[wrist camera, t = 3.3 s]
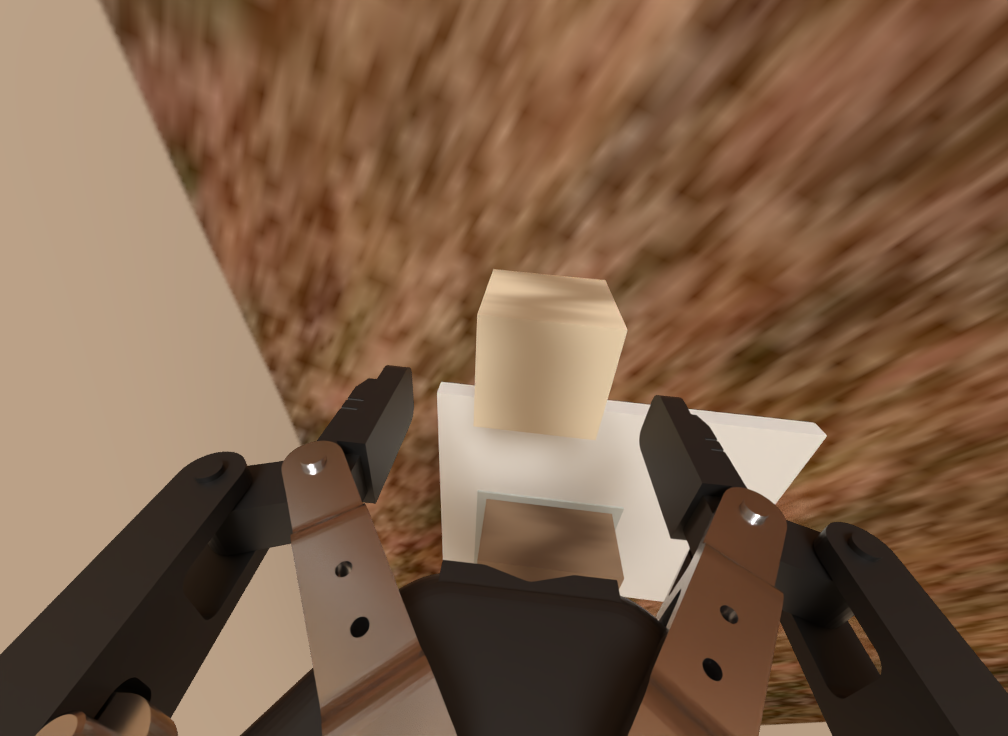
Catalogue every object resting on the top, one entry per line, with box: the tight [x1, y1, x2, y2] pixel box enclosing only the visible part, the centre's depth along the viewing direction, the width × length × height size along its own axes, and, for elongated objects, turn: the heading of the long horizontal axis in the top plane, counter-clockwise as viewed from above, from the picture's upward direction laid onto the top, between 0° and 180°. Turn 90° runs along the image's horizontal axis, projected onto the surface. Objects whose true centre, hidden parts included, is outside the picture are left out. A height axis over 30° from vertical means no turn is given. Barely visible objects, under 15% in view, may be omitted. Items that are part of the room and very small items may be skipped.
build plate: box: [437, 382, 827, 602], centre depth 24 cm, size 20×18×1 cm
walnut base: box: [477, 499, 624, 589], centre depth 23 cm, size 8×8×4 cm
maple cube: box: [473, 269, 627, 440], centre depth 15 cm, size 5×5×5 cm
